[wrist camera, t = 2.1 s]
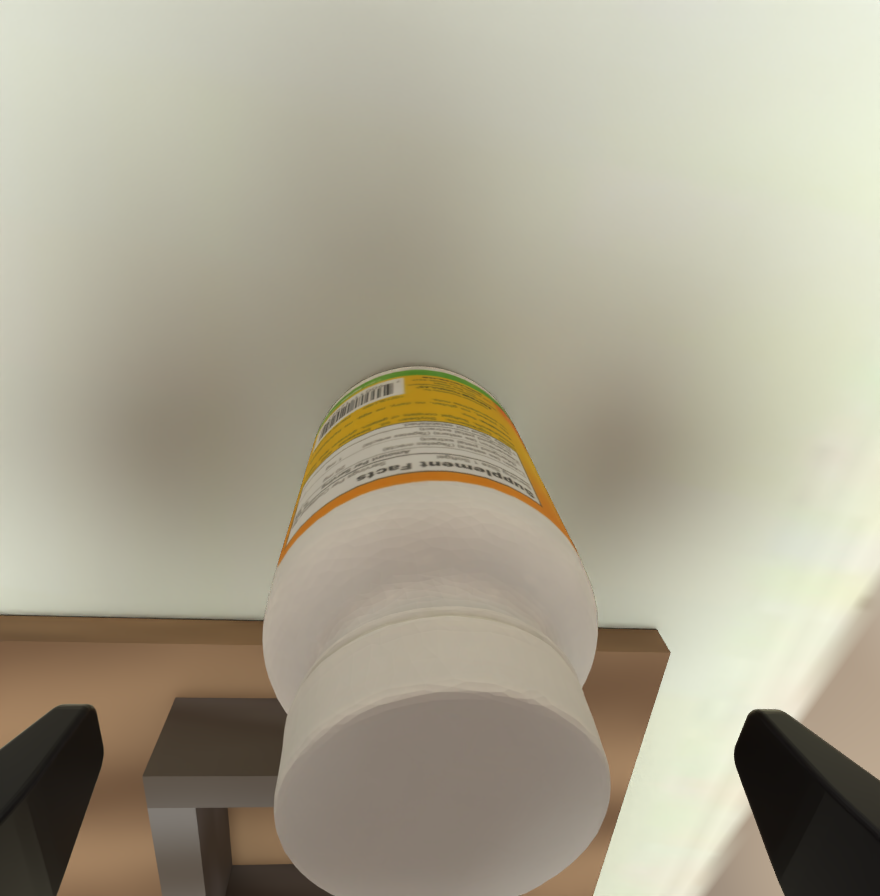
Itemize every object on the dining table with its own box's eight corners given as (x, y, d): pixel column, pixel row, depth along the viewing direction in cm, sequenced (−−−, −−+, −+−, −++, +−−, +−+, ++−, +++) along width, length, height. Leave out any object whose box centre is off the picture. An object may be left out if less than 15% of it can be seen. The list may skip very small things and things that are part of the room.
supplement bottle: (482, 561, 17) (576, 964, 8) (297, 524, 16) (181, 934, 7) (546, 390, 15) (759, 684, 6) (337, 336, 14) (244, 594, 5)
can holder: (580, 882, 24) (609, 989, 21) (57, 894, 22) (0, 1015, 19) (657, 629, 19) (710, 721, 16) (-23, 614, 17) (-120, 717, 14)
